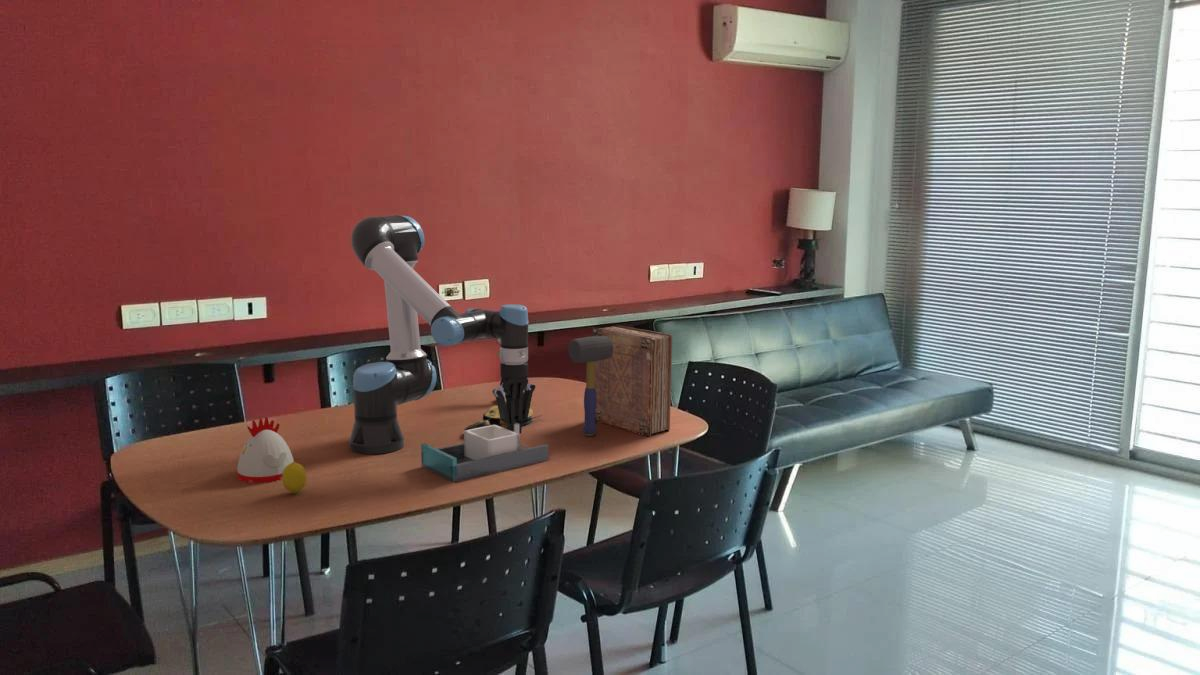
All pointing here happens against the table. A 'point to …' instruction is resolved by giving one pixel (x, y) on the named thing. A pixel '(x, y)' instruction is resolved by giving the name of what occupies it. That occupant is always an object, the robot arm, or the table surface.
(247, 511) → the table surface
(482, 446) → the crate
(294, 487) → the lemon
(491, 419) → the pulley block
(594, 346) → the rubber mallet
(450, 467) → the bay
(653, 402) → the book
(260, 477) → the kitchen timer
